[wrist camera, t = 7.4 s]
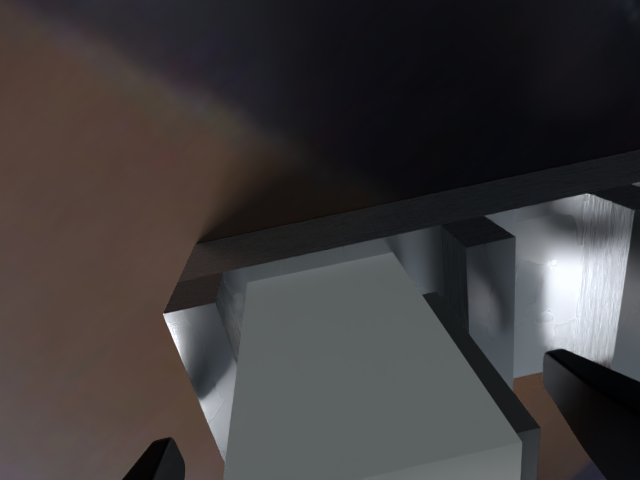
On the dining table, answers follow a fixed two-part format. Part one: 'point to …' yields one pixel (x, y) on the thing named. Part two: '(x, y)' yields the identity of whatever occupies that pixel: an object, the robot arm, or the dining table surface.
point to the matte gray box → (368, 385)
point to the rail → (449, 271)
